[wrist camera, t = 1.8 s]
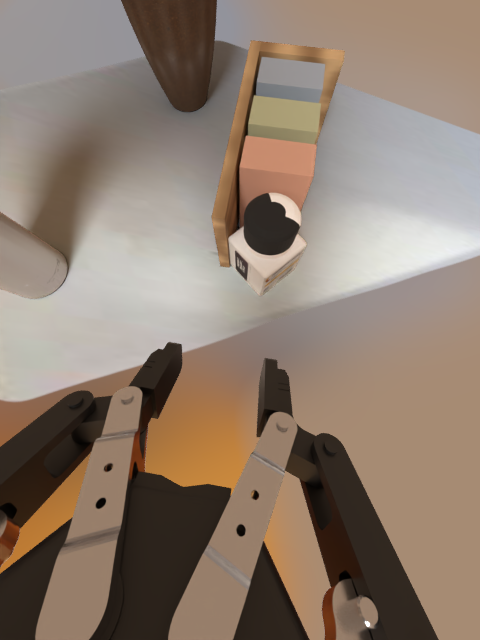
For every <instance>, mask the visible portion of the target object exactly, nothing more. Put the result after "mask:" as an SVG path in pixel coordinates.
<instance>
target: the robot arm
mask: <svg viewBox="0 0 480 640" xmlns="http://www.w3.org/2000/svg"><path fill="white" fill-rule="evenodd" d="M66 274H67V262H66V259H65V257H64V256H63V255H62V253H61V252H59V251H58V250H56V249H55V248H53V247H52V246H50V245H49V244H47V243H46V242H44V241H43V240H41V239H40V238H39V237H37V236H36V235H34V234H33V233H31V232H30V231H28V230H27V229H25V228H24V227H22V226H21V225H19V224H18V223H16V222H15V221H13V220H12V219H10V218H9V217H7V216H6V215H4V214H3V213H1V212H0V289H2V290H5V291H8V292H10V293H13V294H16V295H19V296H22V297H25V298H30V299H37V298H42V297H45V296H47V295H50V294H51V293H53V292H54V291H55V290H57V289H58V288H59V287H60V285H61V284H62V283H63V281H64V279H65V277H66ZM181 368H182V345H181V344H178V343H172V342H168V343H167V345H166V346H165V348H164V349H163V350H162V349H158V350H156V351H155V352H153V353H152V354H151V355H150V356H149V358H148V359H147V361H146V362H145V363H144V365H143V367H142V368H141V369H140V371H139V372H138V373H137V375H136V376H135V378H134V379H133V381H132V382H131V383H130V385H129V386H128V387H125V388H122V389H120V390H118V391H117V392H116V393H115V394H114V395H113V396H107V397H97V398H94V397H93V395H92V393H90V392H89V391H77V392H74V393H72V394H69V395H67V396H66V397H64V398H63V399H62V400H60V402H58V403H57V404H55V405H54V406H53V407H51V408H50V409H49V410H48V411H46V412H45V413H44V414H42V415H41V416H40V417H38V418H37V419H36V420H35V421H33V422H32V423H31V424H30V425H28V426H27V427H26V428H24V429H23V430H22V431H20V432H19V433H18V434H16V435H15V436H14V437H13V438H11V439H10V440H9V441H7V442H6V443H5V444H4V445H2V446H1V447H0V567H1V565H2V564H3V563H4V562H5V561H6V560H7V559H8V558H9V557H10V556H11V554H12V552H13V550H14V547H15V545H16V543H17V541H18V538H19V534H20V528H21V527H22V526H23V525H24V524H25V523H26V522H27V521H28V520H29V519H30V517H31V516H32V515H33V514H34V513H35V512H36V511H37V510H38V509H39V508H40V507H41V506H42V504H43V503H44V502H45V501H46V500H47V499H48V498H49V497H50V496H51V495H52V494H53V493H54V491H55V490H56V489H57V488H58V487H59V486H60V485H61V484H62V483H63V482H64V480H65V479H66V478H67V477H68V476H69V475H70V474H71V473H72V472H73V471H74V470H75V469H76V467H77V466H78V465H79V464H80V463H81V462H82V461H83V460H84V459H85V458H86V457H87V456H88V455H89V453H90V452H91V451H92V452H91V456H90V459H89V462H88V466H87V469H86V473H85V477H84V480H83V483H82V487H81V490H80V494H79V497H78V501H77V505H76V508H75V511H74V515H73V517H72V518H71V519H70V520H68V521H67V522H66V523H65V524H63V525H62V526H61V527H59V528H58V529H57V530H56V531H54V532H53V533H52V534H50V535H49V536H48V537H47V538H45V539H44V540H43V541H42V542H40V543H39V544H38V545H36V546H35V547H34V548H33V549H32V550H30V551H29V552H27V553H26V554H25V555H24V556H22V557H21V558H20V559H19V560H17V561H16V562H15V563H13V564H12V565H11V566H10V567H8V568H7V569H6V570H4V571H3V572H2V573H1V574H0V640H309V638H308V636H307V633H306V631H305V629H304V627H303V625H302V623H301V621H300V618H299V617H298V614H297V612H296V610H295V608H294V605H293V603H292V601H291V599H290V597H289V595H288V592H287V591H286V588H285V586H284V584H283V582H282V580H281V577H280V575H279V573H278V571H277V569H276V567H275V565H274V562H273V560H272V558H271V556H270V554H269V551H268V549H267V547H266V545H265V543H264V541H263V540H264V537H265V534H266V531H267V528H268V524H269V521H270V518H271V515H272V512H273V509H274V505H275V502H276V499H277V496H278V493H279V490H280V486H281V483H282V480H283V477H284V473H285V472H284V471H287V472H289V473H290V474H292V475H294V476H296V477H298V478H299V479H300V482H301V486H302V489H303V493H304V496H305V500H306V503H307V507H308V510H309V513H310V517H311V520H312V524H313V527H314V530H315V534H316V537H317V541H318V544H319V547H320V551H321V555H322V558H323V561H324V565H325V568H326V572H327V575H328V578H329V582H330V586H331V588H329V589H328V590H327V591H326V593H325V595H324V597H323V602H322V616H323V622H324V629H325V640H438V638H437V636H436V634H435V631H434V629H433V627H432V625H431V624H430V622H429V619H428V617H427V615H426V613H425V611H424V609H423V607H422V605H421V603H420V601H419V599H418V597H417V595H416V593H415V591H414V589H413V587H412V585H411V583H410V581H409V579H408V576H407V574H406V573H405V571H404V569H403V566H402V564H401V562H400V560H399V558H398V556H397V554H396V552H395V550H394V548H393V546H392V544H391V542H390V540H389V538H388V536H387V534H386V532H385V530H384V528H383V526H382V523H381V521H380V519H379V517H378V515H377V514H376V511H375V509H374V507H373V505H372V504H371V501H370V499H369V497H368V495H367V493H366V491H365V489H364V487H363V485H362V483H361V481H360V479H359V477H358V475H357V473H356V470H355V468H354V466H353V465H352V462H351V460H350V458H349V456H348V454H347V452H346V450H345V448H344V446H343V445H342V443H341V442H340V441H339V440H338V439H337V438H336V437H334V436H332V435H330V434H326V433H321V434H319V435H317V436H315V435H313V434H311V433H309V432H307V431H305V430H303V429H302V428H300V427H299V426H298V425H297V424H296V422H295V420H294V418H293V415H292V405H291V395H290V386H289V377H288V375H287V373H286V372H285V370H282V369H278V368H277V360H274V359H268V358H265V359H264V364H263V367H262V372H261V376H260V383H259V399H258V418H257V437H260V439H259V441H258V443H257V446H256V448H255V450H254V452H253V453H252V454H251V455H250V457H249V459H248V461H247V463H246V466H245V468H244V470H243V472H242V474H241V476H240V478H239V480H238V482H237V485H236V487H235V489H234V491H233V493H232V495H231V496H230V494H231V488H226V487H221V486H215V485H210V484H206V485H197V486H189V487H182V486H180V485H178V484H176V483H174V482H172V481H171V480H169V479H167V478H165V477H163V476H162V475H156V474H151V473H146V472H145V457H146V446H147V435H148V423H149V422H150V419H151V418H156V419H158V418H159V415H160V413H161V411H162V409H163V407H164V405H165V403H166V401H167V399H168V397H169V394H170V393H171V390H172V388H173V386H174V384H175V382H176V380H177V378H178V376H179V374H180V371H181Z"/></svg>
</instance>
